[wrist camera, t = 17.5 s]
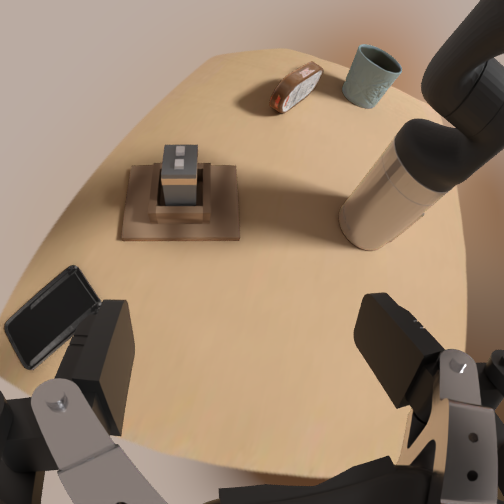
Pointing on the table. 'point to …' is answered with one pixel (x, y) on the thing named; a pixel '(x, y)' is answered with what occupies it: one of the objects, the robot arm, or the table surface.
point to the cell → (180, 174)
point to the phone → (51, 317)
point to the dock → (182, 207)
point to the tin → (295, 87)
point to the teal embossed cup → (370, 76)
